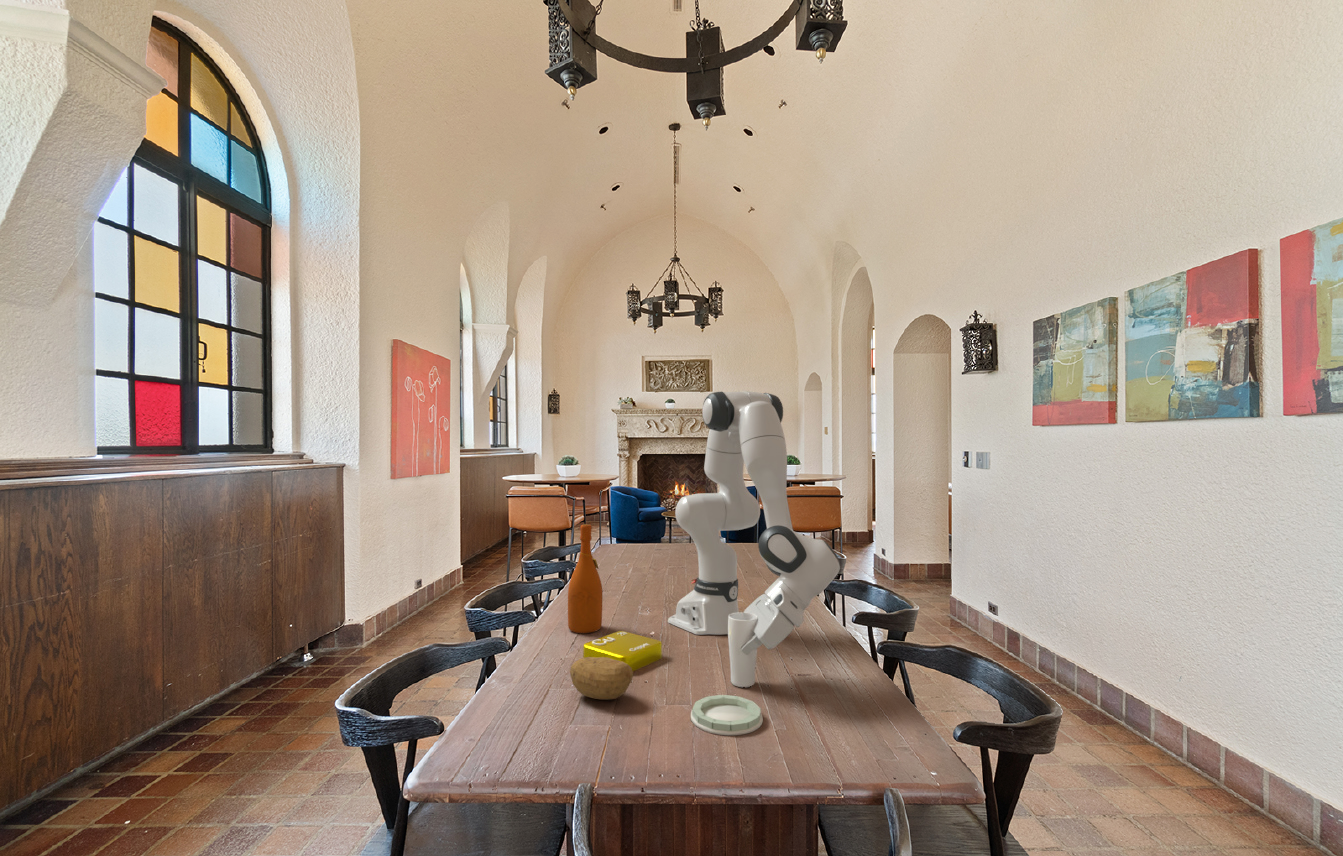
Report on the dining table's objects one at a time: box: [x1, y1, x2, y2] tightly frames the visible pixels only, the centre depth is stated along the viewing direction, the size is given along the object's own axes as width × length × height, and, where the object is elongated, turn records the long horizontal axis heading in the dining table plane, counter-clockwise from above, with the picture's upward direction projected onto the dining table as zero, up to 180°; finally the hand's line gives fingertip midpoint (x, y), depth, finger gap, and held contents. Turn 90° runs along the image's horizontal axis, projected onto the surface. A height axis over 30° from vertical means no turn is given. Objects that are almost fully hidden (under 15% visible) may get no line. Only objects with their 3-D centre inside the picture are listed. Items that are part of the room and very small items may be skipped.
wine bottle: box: [567, 523, 603, 634], centre depth 175 cm, size 10×10×30 cm
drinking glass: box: [727, 611, 758, 688], centre depth 136 cm, size 7×7×15 cm
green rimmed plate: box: [690, 694, 764, 737], centre depth 119 cm, size 14×14×2 cm
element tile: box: [582, 630, 663, 673], centre depth 152 cm, size 15×15×5 cm
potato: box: [569, 657, 634, 701], centre depth 128 cm, size 10×14×8 cm
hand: (740, 645), depth 136 cm, fingers closed on drinking glass, 6 cm apart
